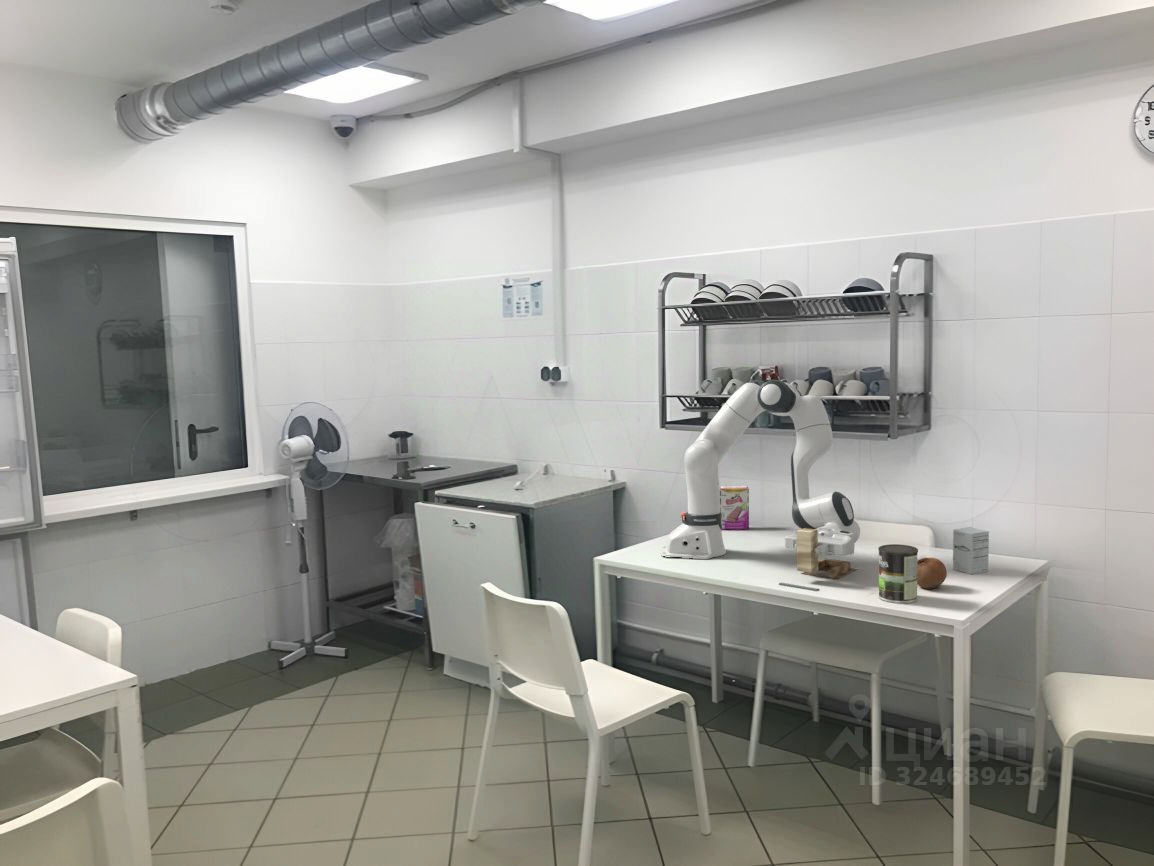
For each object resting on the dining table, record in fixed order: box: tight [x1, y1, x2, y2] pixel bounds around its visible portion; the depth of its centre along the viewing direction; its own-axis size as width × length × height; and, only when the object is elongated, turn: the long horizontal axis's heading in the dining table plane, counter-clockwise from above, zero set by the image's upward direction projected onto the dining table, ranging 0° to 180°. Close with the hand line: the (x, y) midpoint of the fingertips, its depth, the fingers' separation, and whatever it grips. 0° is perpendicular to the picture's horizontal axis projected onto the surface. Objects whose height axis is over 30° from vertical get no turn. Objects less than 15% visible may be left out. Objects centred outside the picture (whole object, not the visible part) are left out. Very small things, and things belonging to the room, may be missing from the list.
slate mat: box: [778, 582, 820, 592], centre depth 267 cm, size 12×12×1 cm
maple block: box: [795, 528, 819, 573], centre depth 266 cm, size 4×4×12 cm
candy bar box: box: [719, 485, 750, 531], centre depth 347 cm, size 11×5×16 cm, turn 84°
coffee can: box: [878, 543, 919, 604], centre depth 248 cm, size 10×10×14 cm
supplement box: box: [952, 526, 990, 575], centre depth 274 cm, size 7×7×13 cm
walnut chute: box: [800, 557, 859, 580], centre depth 278 cm, size 15×12×3 cm
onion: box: [917, 557, 948, 590], centre depth 258 cm, size 10×9×10 cm
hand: (805, 549), depth 265 cm, fingers closed on maple block, 4 cm apart
